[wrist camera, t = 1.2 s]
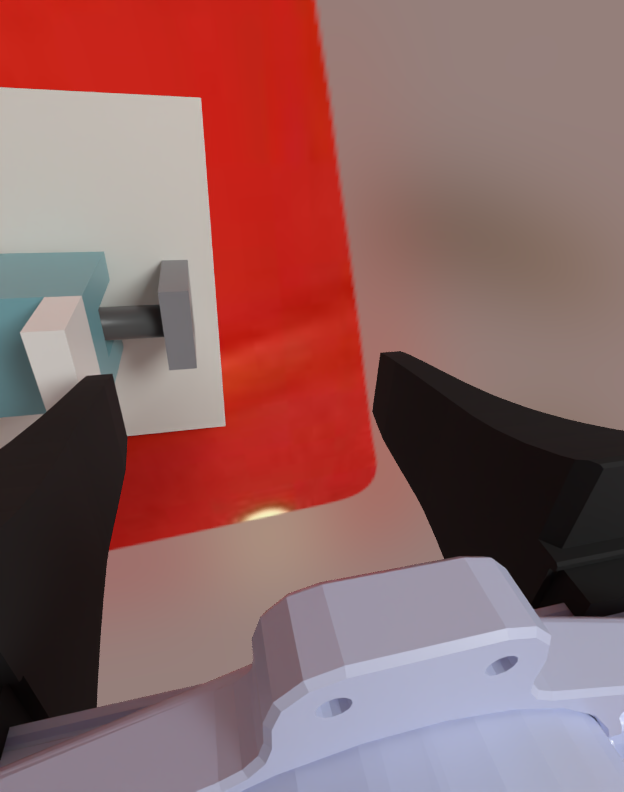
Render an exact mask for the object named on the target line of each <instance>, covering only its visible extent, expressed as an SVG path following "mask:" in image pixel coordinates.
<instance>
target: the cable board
mask: <svg viewBox="0 0 624 792" xmlns="http://www.w3.org/2000/svg"><path fill="white" fill-rule="evenodd" d="M59 252H104V254H105V259H106V264H107V269H108V274H109V279H110V281H109V284H108V286H107V289H106V291H105V294H104V296H103V299H102V301H101V304H100V306H99V309H98V312H99V316H100V321H101V325H102V329H103V334H104V338H105V341H107V340H122V342H123V351H122V356H121V360H120V364H119V368H118V373H117V377H116V381H115V387H116V391H117V395H118V399H119V404H120V408H121V412H122V417H123V421H124V425H125V429H126V434H127V436H133V435H143V434H153V433H163V432H172V431H182V430H192V429H201V428H211V427H221V426H225V412H224V399H223V386H222V372H221V359H220V346H219V333H218V319H217V306H216V293H215V279H214V266H213V253H212V240H211V226H210V213H209V200H208V186H207V173H206V160H205V147H204V133H203V120H202V107H201V98H195V97H176V96H157V95H138V94H118V93H99V92H80V91H61V90H41V89H22V88H3V87H0V254H7V253H59ZM42 415H43V414H36V415H25V416H14V417H2V418H0V449H1V448H2V447H3V446H5V445H6V444H7V443H9V442H10V441H11V440H13V439H14V438H15V437H16V436H18V435H19V434H20V433H21V432H23V431H24V430H25V429H26V428H28V427H29V426H30V425H31V424H33V423H34V422H35V421H36V420H38V419H39V418H40V417H41V416H42Z"/></svg>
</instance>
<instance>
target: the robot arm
mask: <svg viewBox="0 0 624 792" xmlns="http://www.w3.org/2000/svg"><path fill="white" fill-rule="evenodd" d="M372 412H373V415H374V417H375V420H376V423H377V425H378V428H379V430H380V433H381V435H382V438H383V440H384V442H385V443H386V445H387V447H388V449H389V450H390V452H391V454H392V456H393V457H394V459H395V461H396V463H397V464H398V466H399V468H400V469H401V471H402V473H403V474H404V476H405V478H406V479H407V481H408V483H409V484H410V486H411V488H412V490H413V492H414V493H415V495H416V497H417V499H418V501H419V502H420V504H421V506H422V508H423V510H424V512H425V514H426V517H427V519H428V521H429V524H430V526H431V528H432V530H433V533H434V535H435V537H436V540H437V542H438V544H439V547H440V550H441V552H442V555H443V557H444V559H442V560H437V561H432V562H426V563H421V564H416V565H410V566H405V567H400V568H395V569H389V570H384V571H378V572H373V573H368V574H362V575H357V576H352V577H347V578H341V579H337V580H330V581H325V582H320V583H317V584H314V585H311V586H309V587H306V588H303V589H300V590H297V591H294V592H291V593H289V594H287V595H286V596H285V597H283V598H282V599H281V600H280V601H279V602H277V603H276V604H274V605H273V606H272V607H271V608H269V609H268V610H267V611H266V612H265V613H264V614H263V615H262V616H261V617H260V619H259V622H258V624H257V627H256V630H255V632H254V635H253V637H252V648H253V662H252V664H250V665H248V666H245V667H243V668H240V669H238V670H236V671H233V672H231V673H229V674H226V675H223V676H221V677H218V678H216V679H214V680H211V681H209V682H207V683H204V684H199V685H195V686H191V687H186V688H182V689H178V690H173V691H168V692H164V693H160V694H155V695H150V696H146V697H142V698H138V699H133V700H128V701H124V702H120V703H115V704H110V705H106V706H102V707H97V686H98V669H99V652H100V635H101V623H102V610H103V597H104V587H105V577H106V576H105V575H106V566H107V558H108V552H109V546H110V541H111V536H112V531H113V527H114V522H115V517H116V513H117V508H118V504H119V499H120V494H121V490H122V485H123V480H124V475H125V470H126V456H127V434H126V429H125V425H124V421H123V417H122V412H121V408H120V404H119V399H118V395H117V391H116V387H115V382H114V378H113V374H102V375H89V376H86V377H84V378H83V379H82V380H81V381H80V382H79V383H77V384H76V385H75V386H74V387H73V388H72V389H71V390H70V391H69V392H68V393H67V394H66V395H64V396H63V397H62V398H61V399H60V400H59V401H58V402H57V403H56V404H55V405H53V406H52V407H51V408H50V409H49V410H48V411H47V412H46V413H45V414H43V415H42V416H41V417H40V418H39V419H38V420H36V421H35V422H34V423H33V424H31V425H30V426H29V427H28V428H26V429H25V430H24V431H23V432H21V433H20V434H19V435H18V436H16V437H15V438H14V439H13V440H11V441H10V442H9V443H7V444H6V445H5V446H3V447H2V448H1V449H0V792H624V431H622V430H616V429H610V428H605V427H600V426H595V425H590V424H585V423H581V422H577V421H572V420H568V419H564V418H561V417H557V416H554V415H550V414H546V413H542V412H539V411H536V410H533V409H530V408H527V407H523V406H521V405H518V404H515V403H512V402H510V401H507V400H504V399H502V398H499V397H497V396H494V395H491V394H489V393H487V392H485V391H482V390H480V389H478V388H476V387H473V386H471V385H469V384H467V383H465V382H463V381H461V380H459V379H457V378H455V377H453V376H451V375H449V374H447V373H445V372H443V371H441V370H439V369H437V368H435V367H433V366H431V365H429V364H427V363H425V362H423V361H421V360H419V359H417V358H415V357H413V356H411V355H409V354H406V353H404V352H401V351H399V352H386V353H380V360H379V368H378V375H377V382H376V389H375V396H374V403H373V411H372Z"/></svg>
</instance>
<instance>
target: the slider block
mask: <svg viewBox="0 0 624 792" xmlns="http://www.w3.org/2000/svg"><path fill="white" fill-rule="evenodd" d="M109 281H110V279H109V274H108V269H107V264H106V259H105V254H104V252H59V253H7V254H0V418H2V417H14V416H25V415H36V414H45V413H46V412H47V411H48V410H49V409H50V408H51V407H52V406H53V405H55V404H56V403H57V402H58V401H59V400H60V399H61V398H62V397H63V396H64V395H66V394H67V393H68V392H69V391H70V390H71V389H72V388H73V387H74V386H75V385H76V384H77V383H79V382H80V381H81V380H82V379H83V378H84V377H86V376H89V375H102V374H113V378H114V382H115V381H116V377H117V373H118V368H119V364H120V360H121V356H122V351H123V342H122V340H107V341H105V338H104V334H103V329H102V325H101V321H100V316H99V312H98V309H99V306H100V304H101V301H102V299H103V296H104V294H105V291H106V289H107V286H108V284H109Z"/></svg>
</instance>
